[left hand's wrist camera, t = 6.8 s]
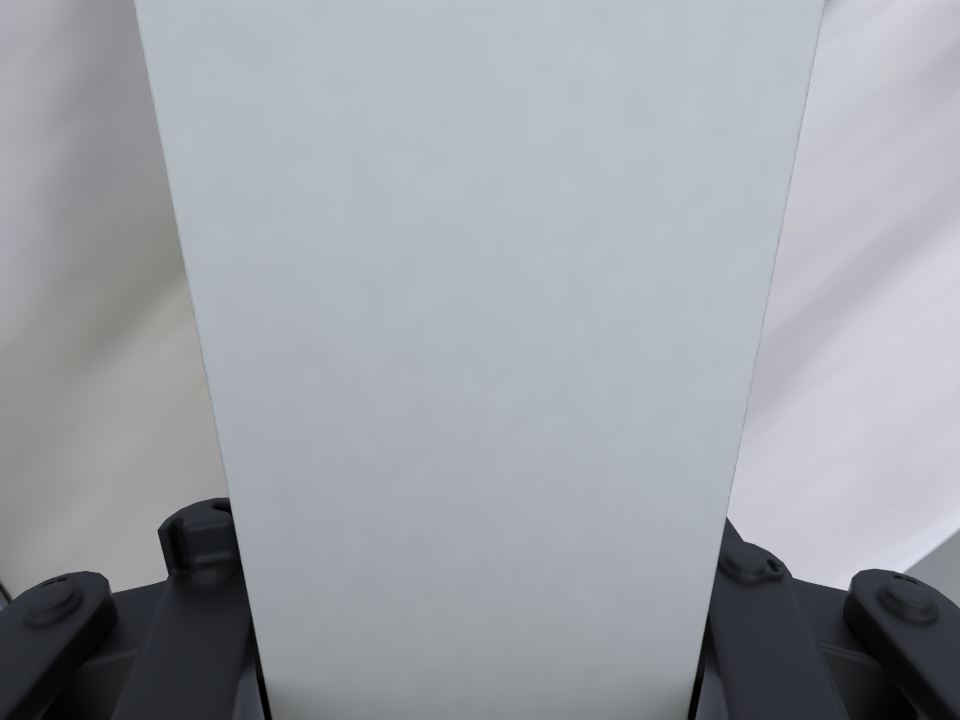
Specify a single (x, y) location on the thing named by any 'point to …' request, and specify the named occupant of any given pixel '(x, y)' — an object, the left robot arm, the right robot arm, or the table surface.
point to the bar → (479, 329)
